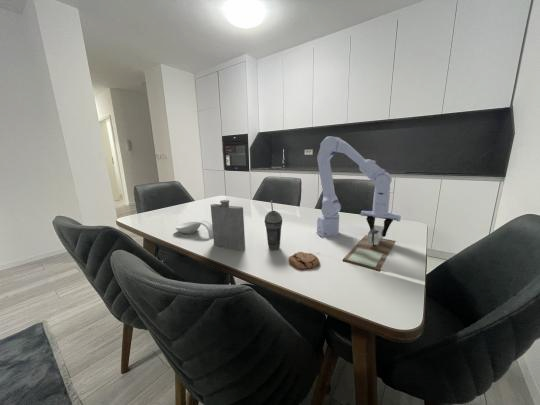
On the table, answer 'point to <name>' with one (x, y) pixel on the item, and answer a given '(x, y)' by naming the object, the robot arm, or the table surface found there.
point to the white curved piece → (195, 227)
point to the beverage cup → (273, 228)
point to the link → (377, 236)
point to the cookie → (304, 260)
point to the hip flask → (228, 226)
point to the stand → (369, 253)
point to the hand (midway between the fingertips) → (378, 234)
